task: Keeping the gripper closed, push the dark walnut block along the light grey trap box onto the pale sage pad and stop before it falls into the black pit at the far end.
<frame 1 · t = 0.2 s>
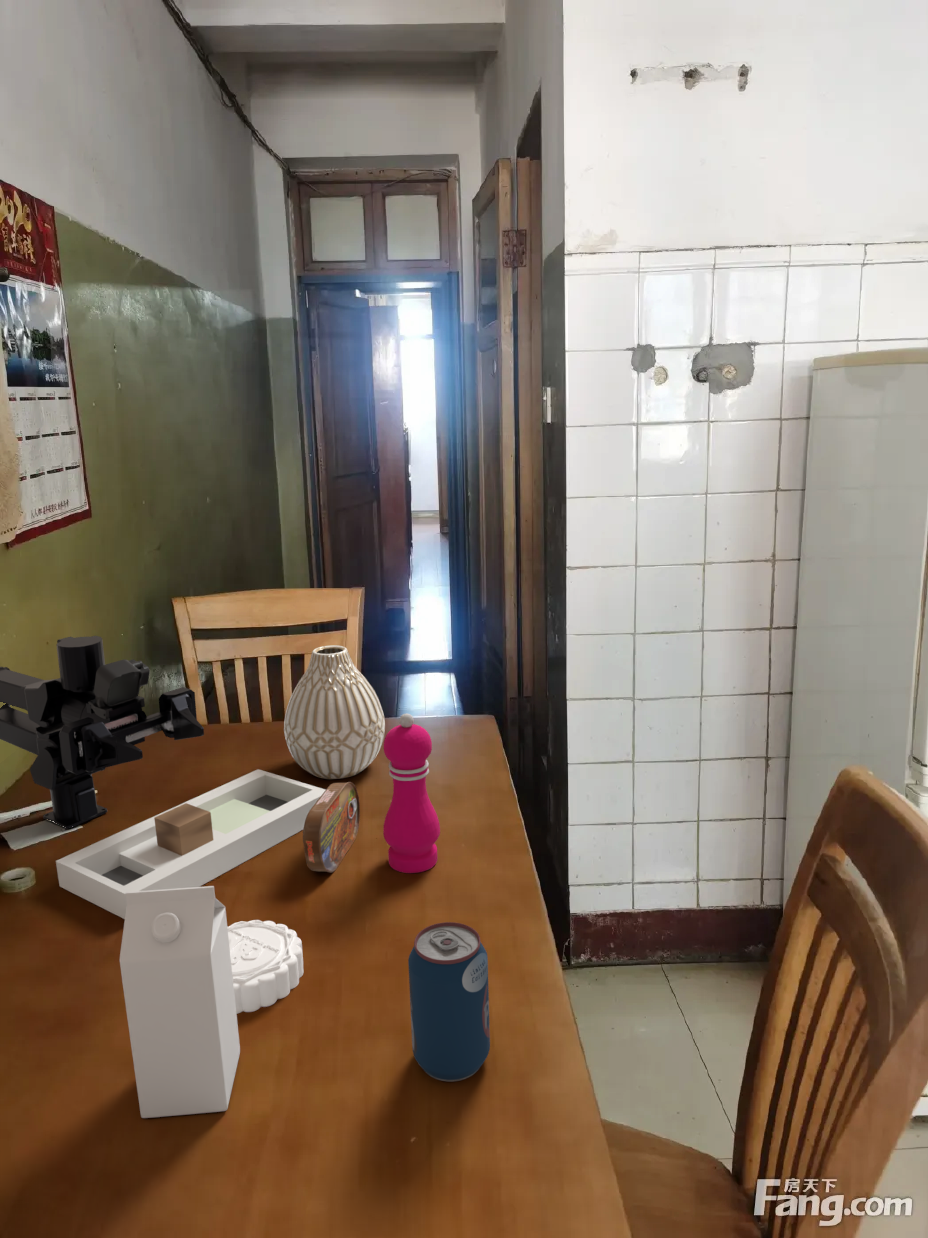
hand: (173, 743, 113), 17 cm above the table, tool horizontal, fingers open, 9 cm apart
trap box: (205, 847, 121), on the table
walnut block: (185, 843, 118), point 2 cm above the table, touching trap box
pepper mill: (413, 862, 115), on the table
soda can: (451, 1060, 81), on the table
mooncake: (245, 980, 93), on the table
tin: (334, 856, 118), on the table
milk carton: (193, 1087, 78), on the table
vase: (337, 770, 145), on the table
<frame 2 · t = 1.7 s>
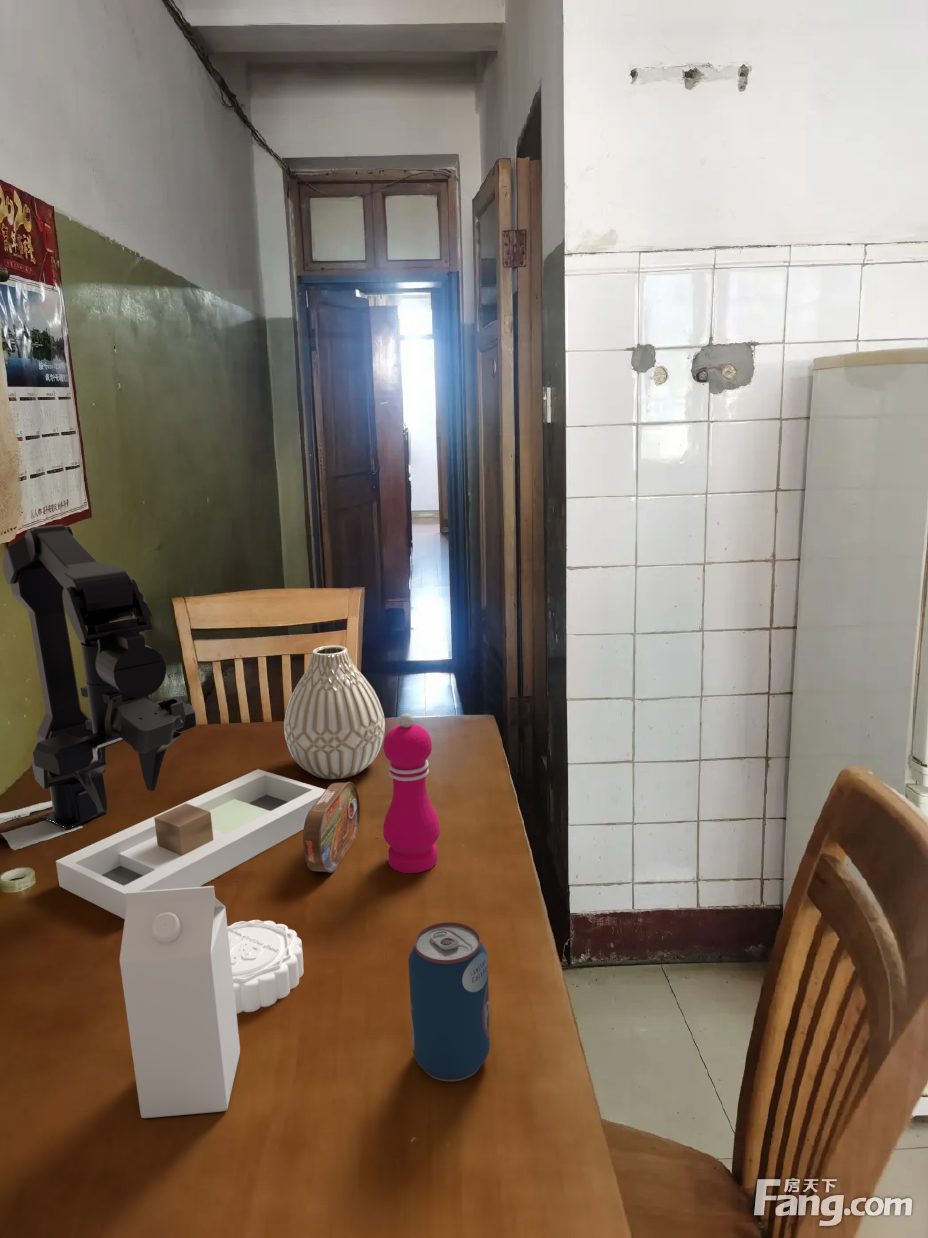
hand: (127, 800, 110), 11 cm above the table, tool pointing down, fingers open, 6 cm apart
nothing on the table moved.
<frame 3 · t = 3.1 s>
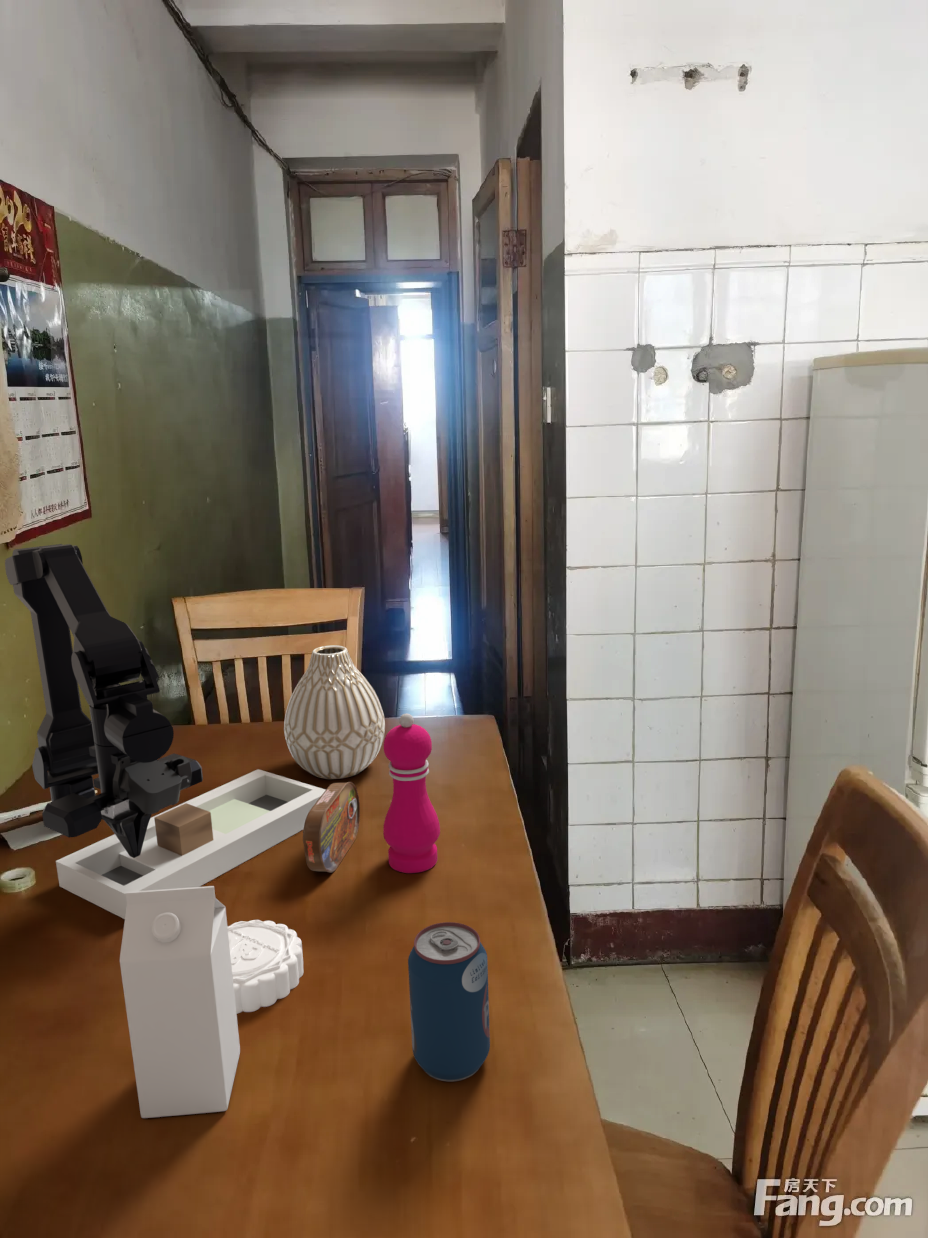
hand: (134, 856, 111), 4 cm above the table, tool pointing down, fingers closed
nothing on the table moved.
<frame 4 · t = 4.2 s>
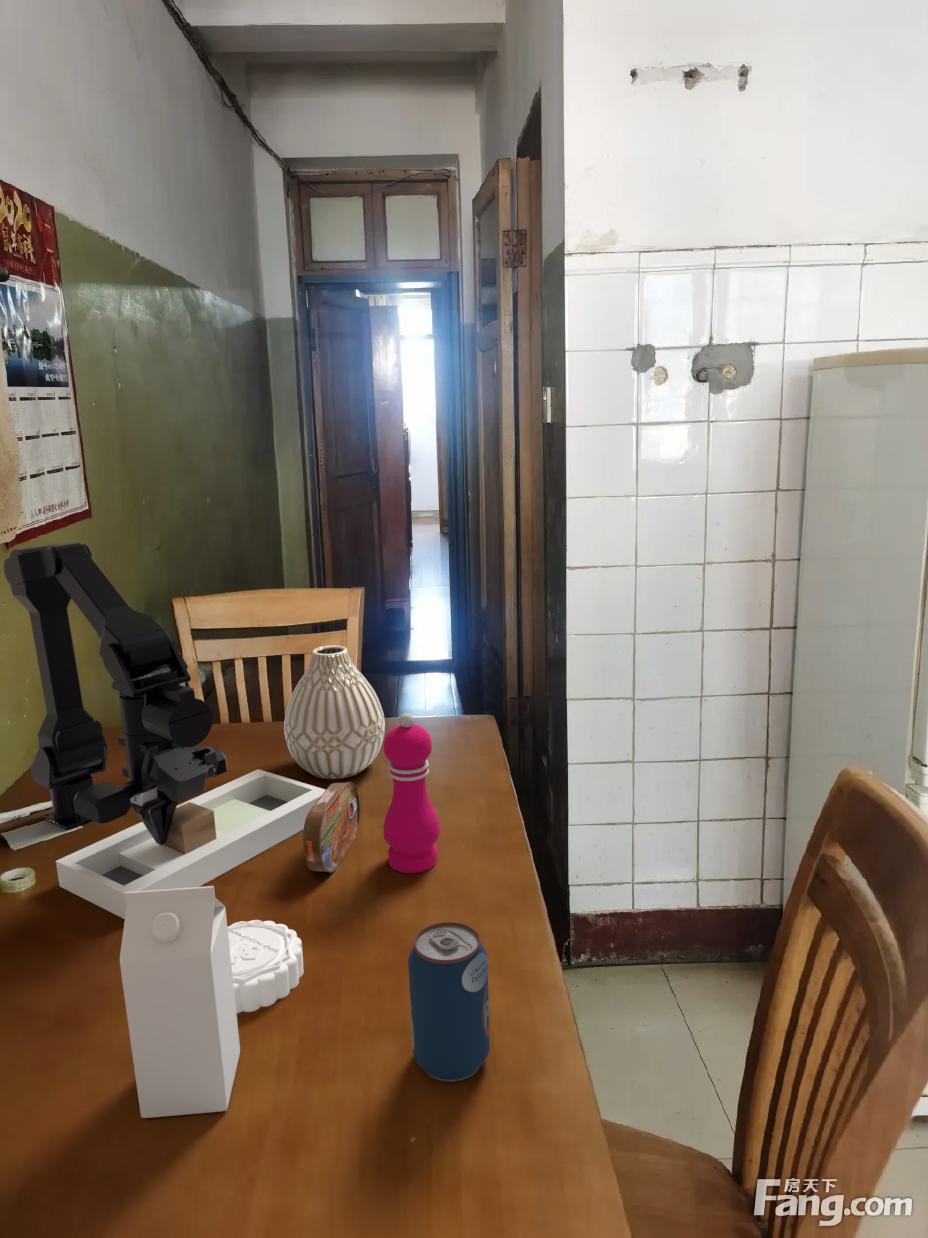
hand: (161, 843, 115), 4 cm above the table, tool pointing down, fingers closed
walnut block: (188, 841, 118), point 2 cm above the table, touching gripper
everything else where it was.
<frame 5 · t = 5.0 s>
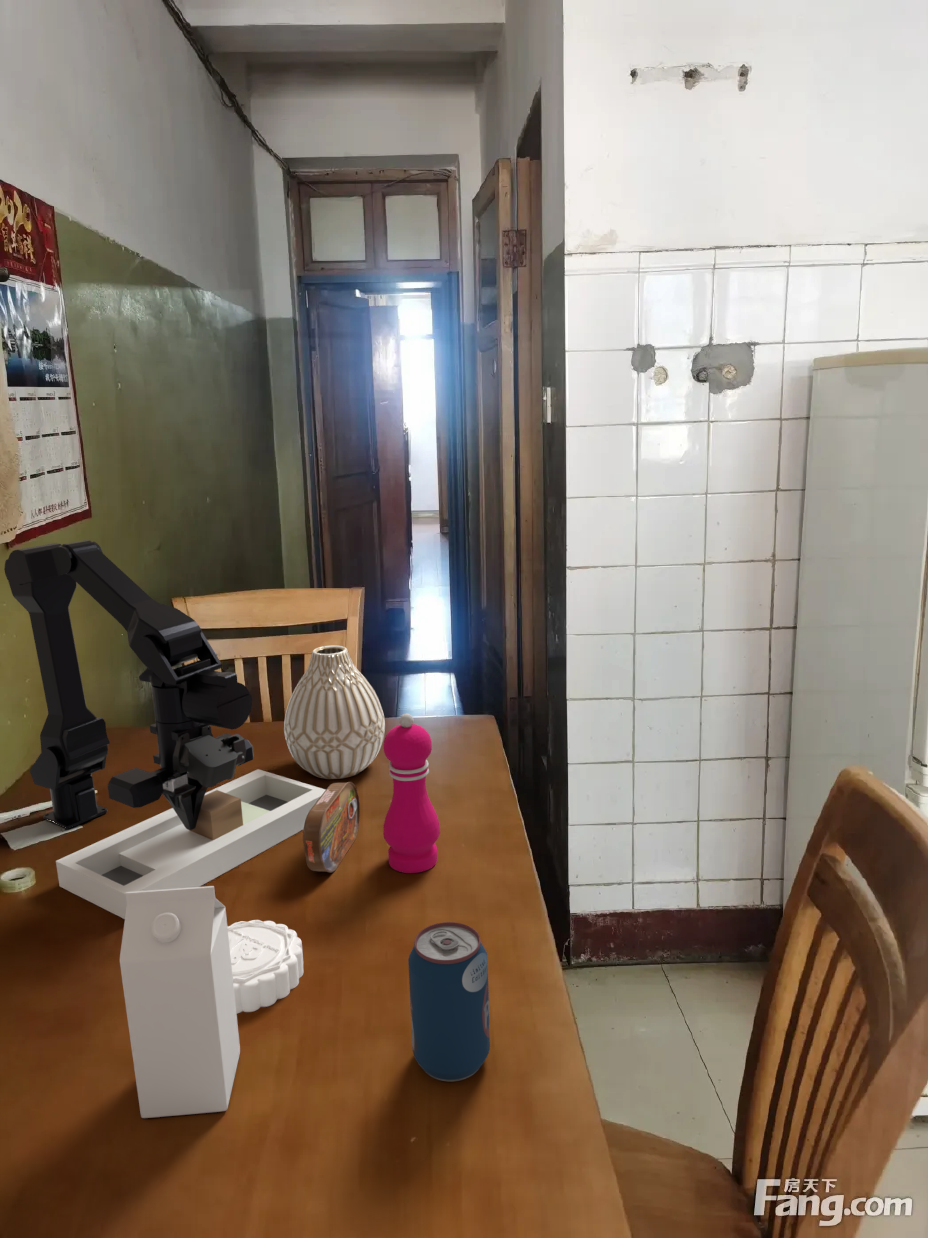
hand: (190, 829, 118), 4 cm above the table, tool pointing down, fingers closed
walnut block: (216, 828, 122), point 2 cm above the table, touching gripper
everything else where it was.
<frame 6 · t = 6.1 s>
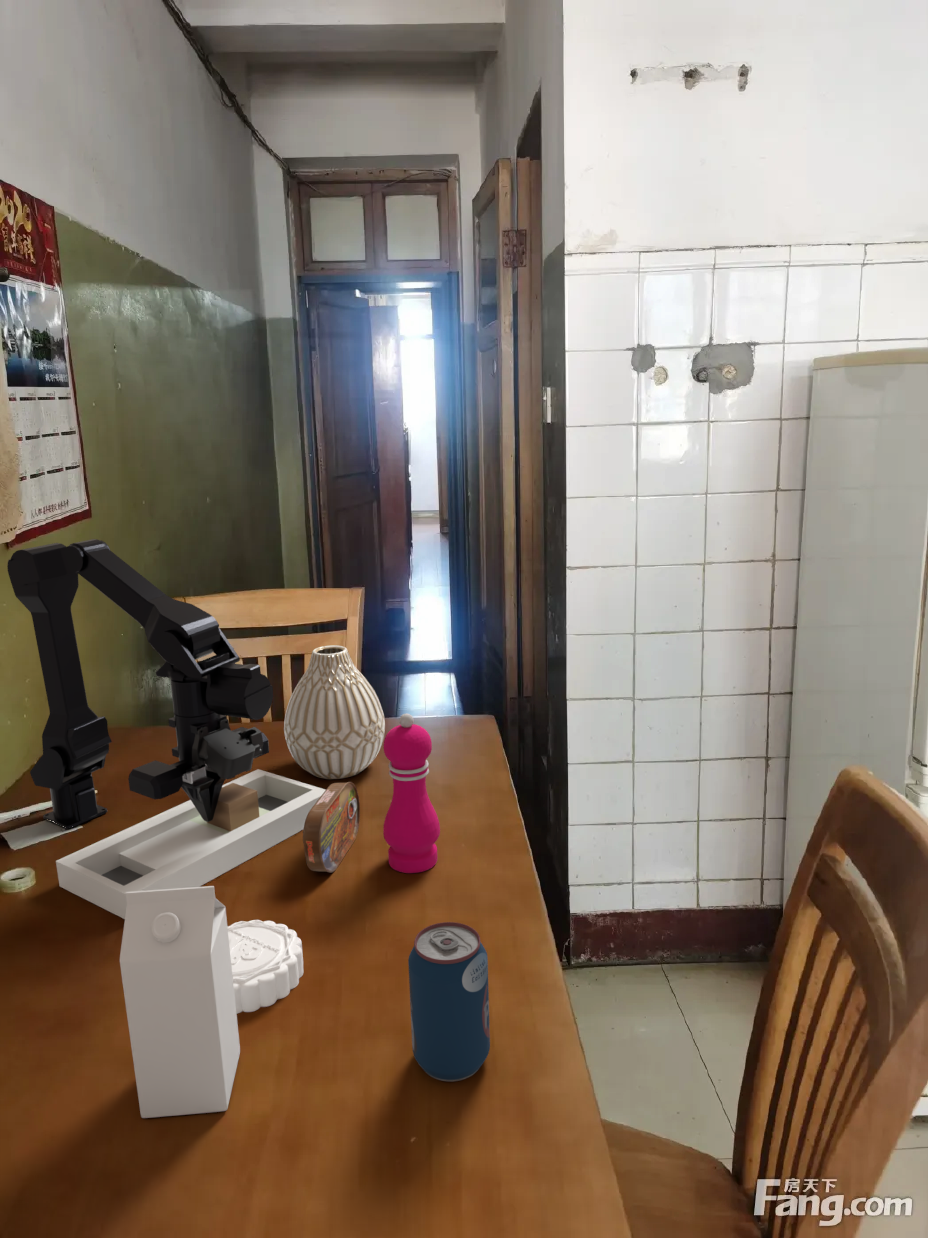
hand: (208, 820, 120), 4 cm above the table, tool pointing down, fingers closed
walnut block: (233, 820, 124), point 2 cm above the table, touching gripper, trap box
everything else where it was.
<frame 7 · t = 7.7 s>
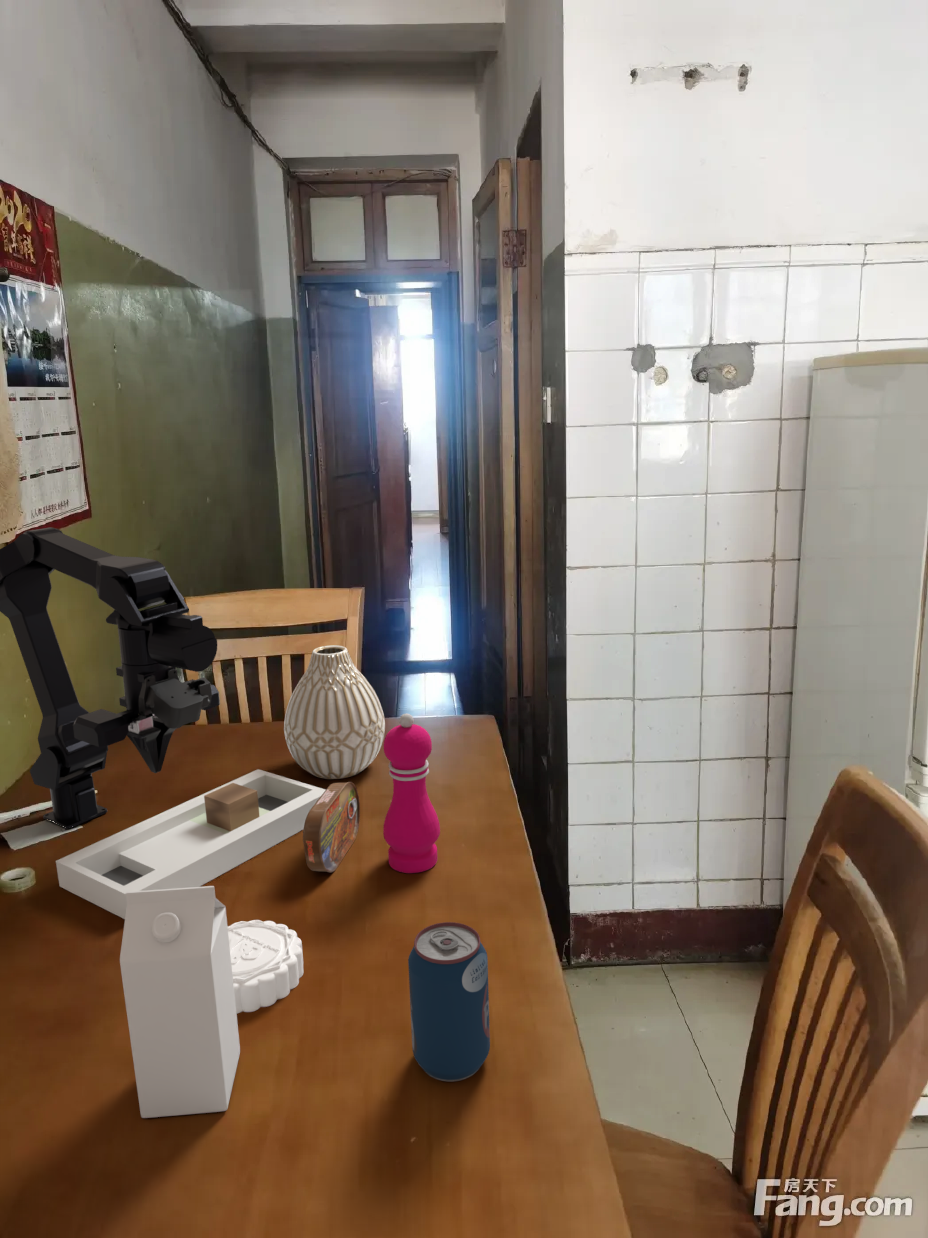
hand: (156, 771, 119), 11 cm above the table, tool pointing down, fingers closed
walnut block: (233, 820, 124), point 2 cm above the table, touching trap box
everything else where it was.
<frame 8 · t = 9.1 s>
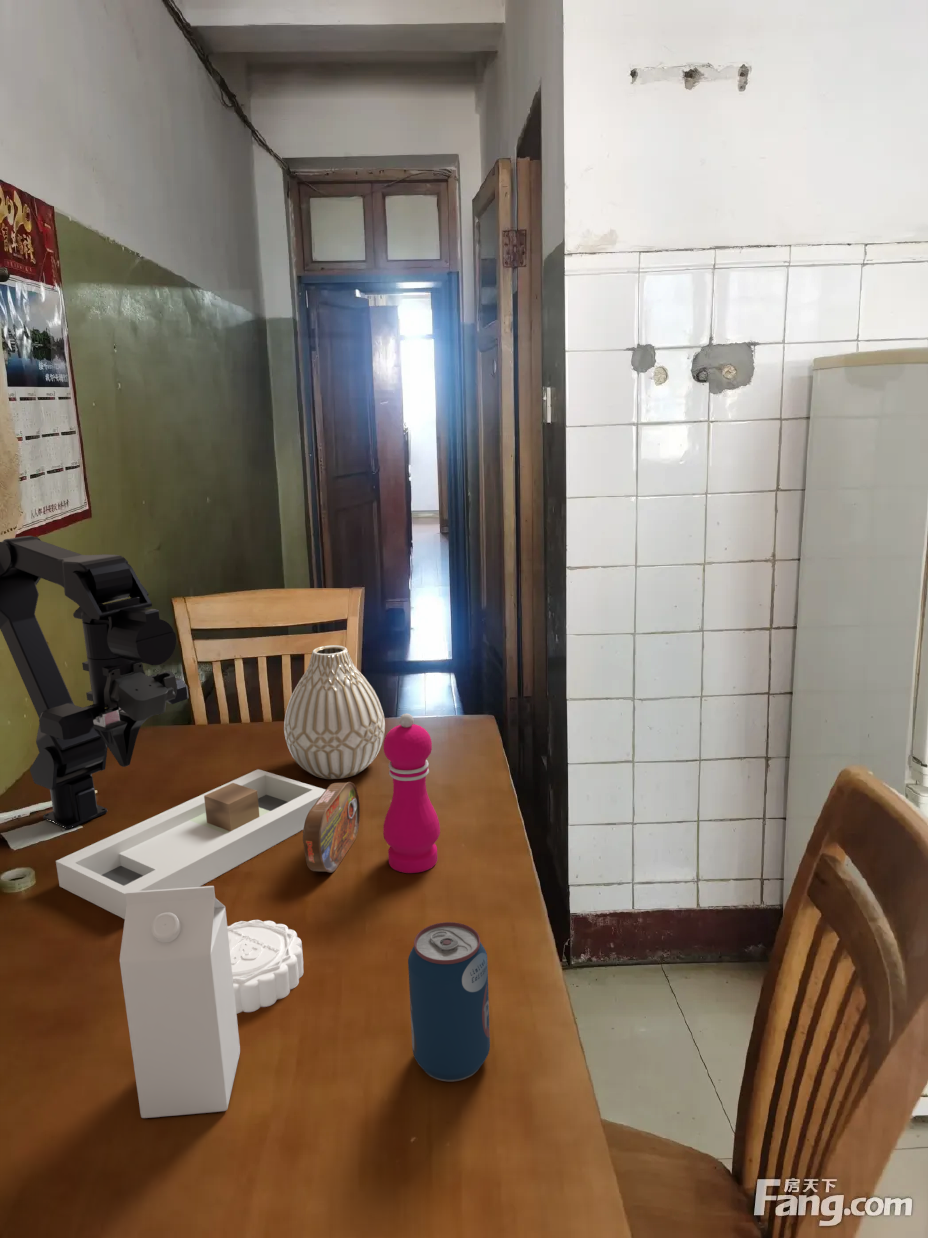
hand: (124, 765, 120), 11 cm above the table, tool pointing down, fingers closed
nothing on the table moved.
at the end: walnut block inside the target area (0.5 cm from its centre), point 2.0 cm above the table; walnut block tilted 0°; walnut block moved 7.8 cm from its start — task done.
